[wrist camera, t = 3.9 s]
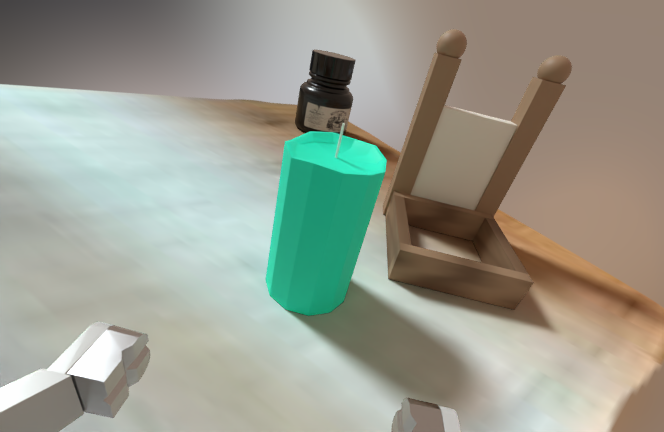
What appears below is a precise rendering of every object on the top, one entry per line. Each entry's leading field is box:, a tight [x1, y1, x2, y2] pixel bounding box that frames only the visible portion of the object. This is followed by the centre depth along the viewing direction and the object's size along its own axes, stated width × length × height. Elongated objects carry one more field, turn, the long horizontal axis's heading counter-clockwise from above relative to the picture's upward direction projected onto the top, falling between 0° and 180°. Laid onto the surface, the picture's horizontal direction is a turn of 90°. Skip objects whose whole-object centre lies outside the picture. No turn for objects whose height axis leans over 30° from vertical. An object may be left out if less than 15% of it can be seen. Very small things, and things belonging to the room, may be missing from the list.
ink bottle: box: [295, 50, 355, 135], centre depth 53 cm, size 10×9×12 cm
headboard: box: [383, 30, 572, 217], centre depth 32 cm, size 11×2×18 cm, turn 83°
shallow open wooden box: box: [386, 191, 534, 310], centre depth 30 cm, size 10×10×3 cm
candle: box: [266, 123, 387, 316], centre depth 21 cm, size 6×6×12 cm
